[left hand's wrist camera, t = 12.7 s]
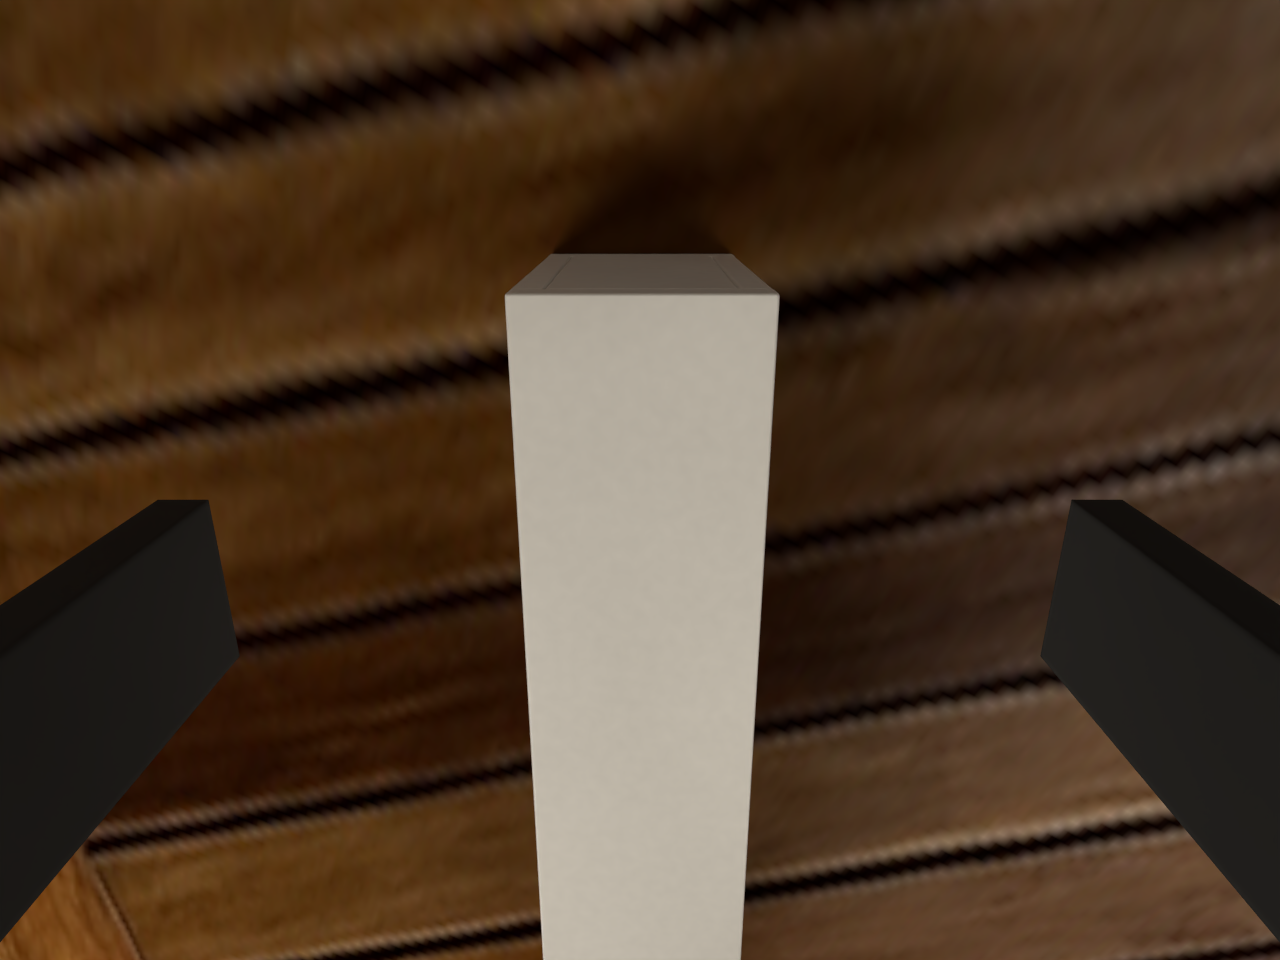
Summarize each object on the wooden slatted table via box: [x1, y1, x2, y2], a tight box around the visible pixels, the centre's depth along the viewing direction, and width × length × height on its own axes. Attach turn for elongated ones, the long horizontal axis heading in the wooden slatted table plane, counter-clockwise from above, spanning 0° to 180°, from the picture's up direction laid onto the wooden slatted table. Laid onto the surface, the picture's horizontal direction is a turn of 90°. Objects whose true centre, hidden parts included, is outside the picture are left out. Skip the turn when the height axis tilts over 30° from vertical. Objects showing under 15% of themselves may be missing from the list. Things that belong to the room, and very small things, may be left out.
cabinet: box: [505, 254, 780, 960], centre depth 25 cm, size 22×6×9 cm, turn 0°
